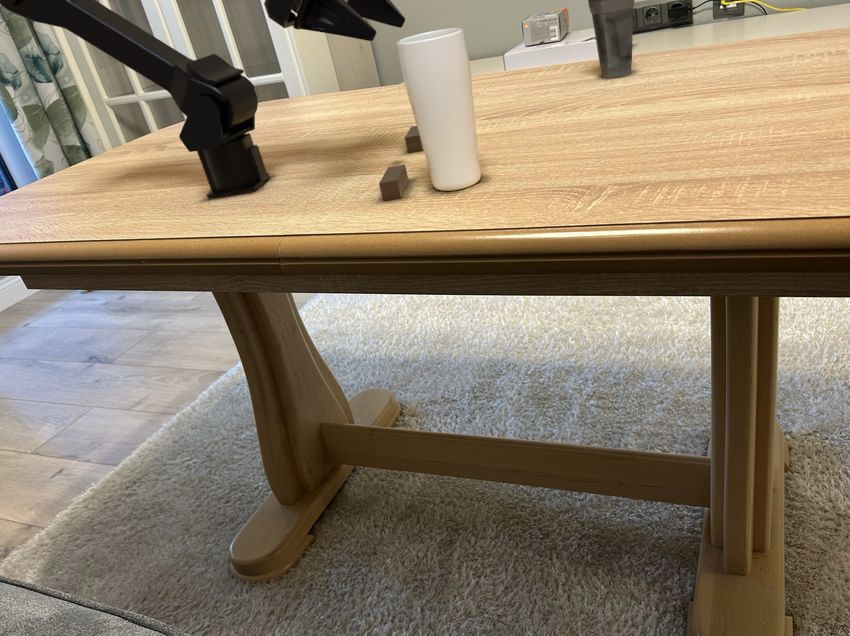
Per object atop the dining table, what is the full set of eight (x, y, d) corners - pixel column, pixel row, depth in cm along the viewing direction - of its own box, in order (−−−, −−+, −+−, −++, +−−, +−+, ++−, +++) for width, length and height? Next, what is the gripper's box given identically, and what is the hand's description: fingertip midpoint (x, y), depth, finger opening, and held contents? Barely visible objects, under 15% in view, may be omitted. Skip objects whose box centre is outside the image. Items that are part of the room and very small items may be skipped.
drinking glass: (482, 191, 73) (455, 34, 65) (419, 197, 74) (387, 46, 67) (493, 170, 78) (469, 24, 71) (435, 177, 80) (406, 35, 72)
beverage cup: (585, 77, 114) (572, -64, 104) (626, 67, 115) (617, -74, 105) (606, 82, 108) (595, -68, 98) (649, 71, 109) (642, -78, 99)
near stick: (401, 198, 75) (396, 180, 74) (383, 201, 76) (378, 183, 75) (408, 181, 81) (405, 164, 80) (391, 183, 81) (387, 166, 80)
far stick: (422, 150, 92) (419, 135, 91) (407, 152, 92) (404, 137, 91) (428, 138, 97) (425, 124, 96) (413, 141, 97) (410, 126, 96)
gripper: (245, -140, 63) (393, -36, 64) (330, -133, 78) (448, -49, 79) (209, -21, 69) (345, 72, 71) (295, -35, 84) (405, 41, 86)
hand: (389, 29), depth 76 cm, fingers open, 9 cm apart
